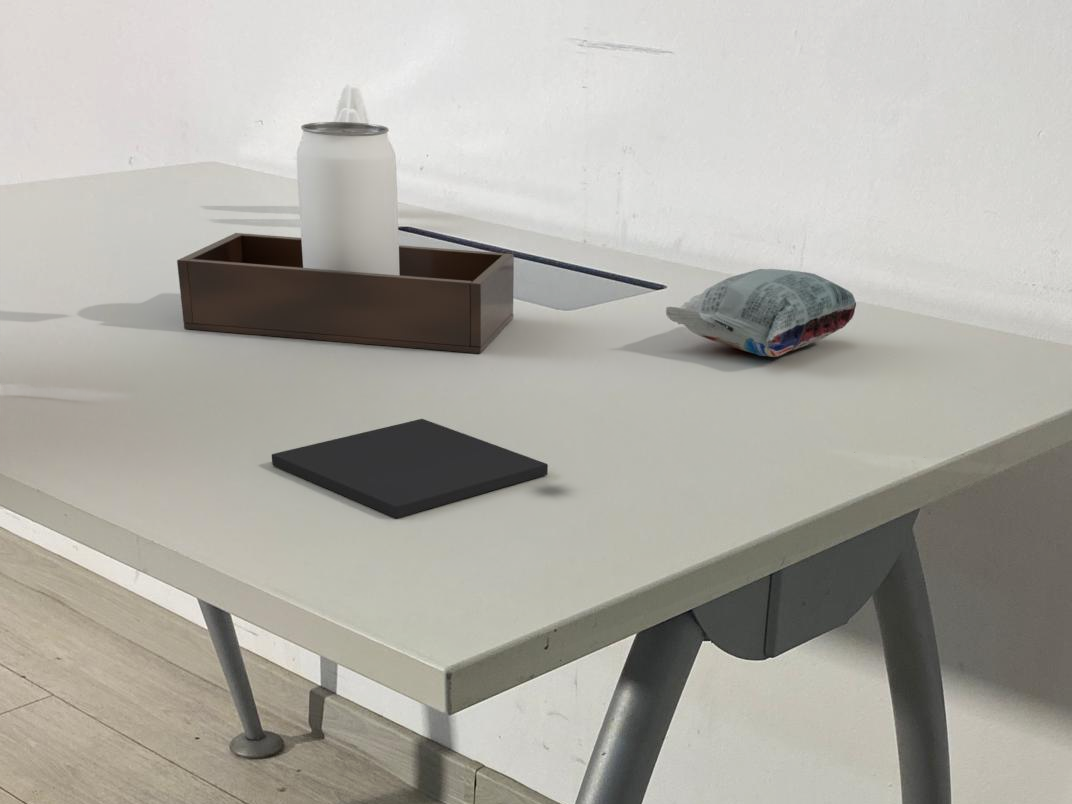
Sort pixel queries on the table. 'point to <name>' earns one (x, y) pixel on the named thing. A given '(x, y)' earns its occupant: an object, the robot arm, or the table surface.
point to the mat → (409, 466)
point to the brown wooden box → (348, 295)
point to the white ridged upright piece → (351, 106)
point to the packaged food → (767, 311)
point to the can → (348, 198)
